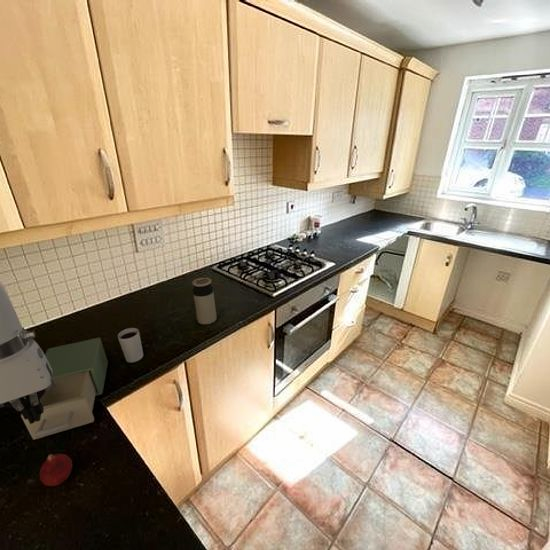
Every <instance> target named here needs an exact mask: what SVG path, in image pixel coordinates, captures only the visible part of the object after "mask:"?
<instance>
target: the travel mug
mask: <svg viewBox="0 0 550 550" xmlns="http://www.w3.org/2000/svg"><path fill="white" fill-rule="evenodd" d="M191 283H192V284H191V285H193V288H192V295H193V301H194V308H195V313H196V321H197V323H198V324H200V325H211V324H212V323H213V324H214V322H215V321H216V320H218V319H217V309H216V302H215V294H214V287H213V285H212V279H211V278H209V277H199V278H196V279H193V280H192V282H191Z"/></svg>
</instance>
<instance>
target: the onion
mask: <svg viewBox="0 0 550 550" xmlns="http://www.w3.org/2000/svg"><path fill="white" fill-rule="evenodd" d="M72 470H73V461H72V459H71V457H70V456H68V454H64V453H56V454H53V453H50V454H48V456H47V457H46V460H45V461H44V462H43V463H42V465H41V467H40V469H39V480H40V482H41V483H42V484H43V485H44V486H47V487H55V486H59V485H60V484H62V483H64V482H65V481H66V480H67V479H68V478H69V476H70V475H71V473H72Z"/></svg>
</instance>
